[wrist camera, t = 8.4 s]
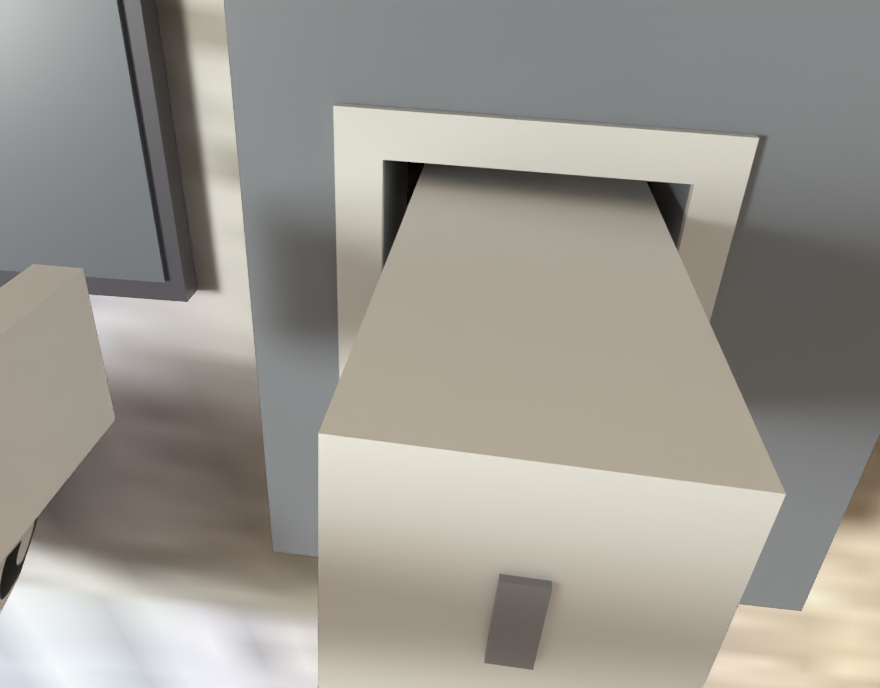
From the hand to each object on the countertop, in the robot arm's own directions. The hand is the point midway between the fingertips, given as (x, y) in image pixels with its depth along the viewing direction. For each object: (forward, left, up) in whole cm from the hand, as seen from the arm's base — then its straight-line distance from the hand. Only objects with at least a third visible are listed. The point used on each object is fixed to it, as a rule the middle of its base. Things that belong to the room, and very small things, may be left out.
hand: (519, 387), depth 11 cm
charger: (0, 0, -6) cm, 6 cm away
